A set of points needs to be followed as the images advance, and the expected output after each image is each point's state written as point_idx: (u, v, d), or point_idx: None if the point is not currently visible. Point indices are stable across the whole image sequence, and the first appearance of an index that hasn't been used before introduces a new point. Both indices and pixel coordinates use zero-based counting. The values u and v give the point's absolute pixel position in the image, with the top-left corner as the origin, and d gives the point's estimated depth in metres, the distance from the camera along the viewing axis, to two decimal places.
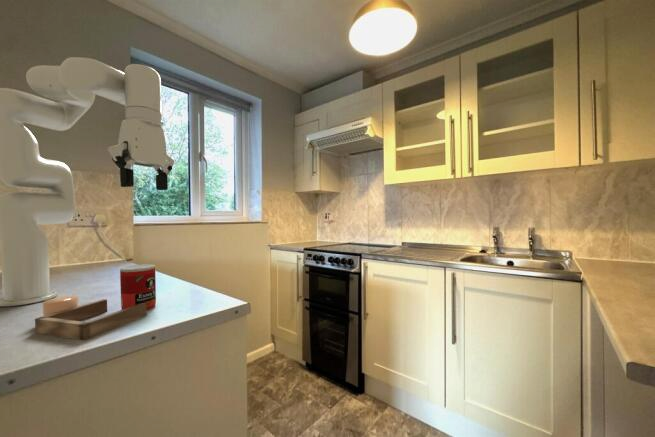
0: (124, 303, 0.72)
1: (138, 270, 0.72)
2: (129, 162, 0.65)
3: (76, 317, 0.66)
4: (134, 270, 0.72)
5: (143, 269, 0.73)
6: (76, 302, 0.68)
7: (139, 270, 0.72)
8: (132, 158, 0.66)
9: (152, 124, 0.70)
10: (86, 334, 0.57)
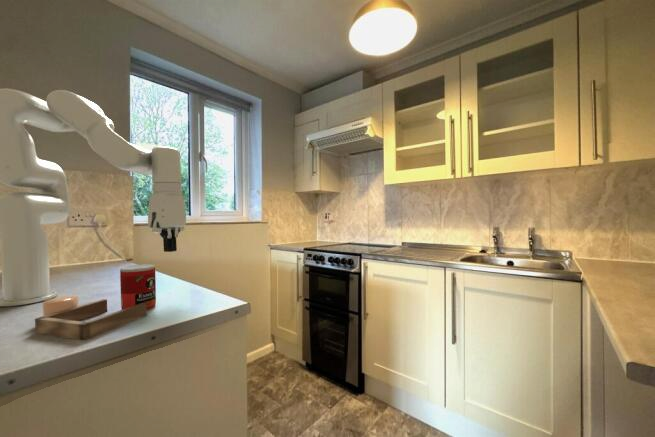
0: (124, 303, 0.72)
1: (138, 270, 0.72)
2: (168, 233, 0.83)
3: (76, 317, 0.66)
4: (134, 270, 0.72)
5: (143, 269, 0.73)
6: (76, 302, 0.68)
7: (139, 270, 0.72)
8: (168, 229, 0.82)
9: (174, 194, 0.84)
10: (86, 334, 0.57)
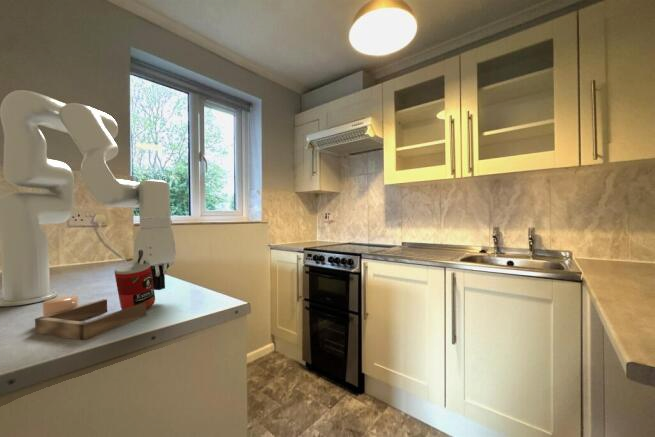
0: (123, 304, 0.71)
1: (133, 272, 0.70)
2: (156, 271, 0.78)
3: (76, 317, 0.66)
4: (129, 272, 0.70)
5: (138, 270, 0.71)
6: (76, 302, 0.68)
7: (134, 272, 0.70)
8: (155, 267, 0.78)
9: None
10: (86, 334, 0.57)
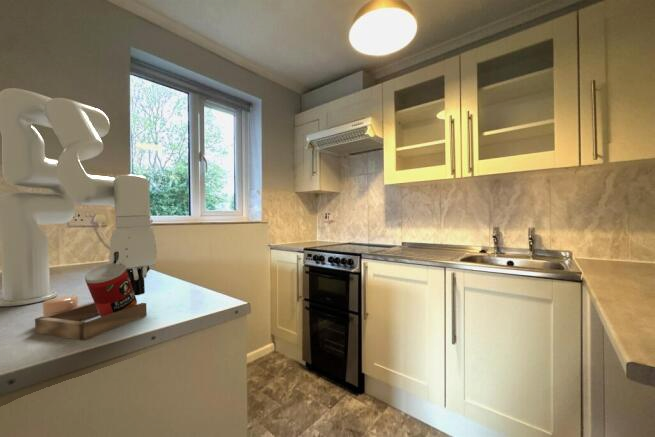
0: (101, 312, 0.66)
1: (106, 280, 0.63)
2: (134, 274, 0.72)
3: (76, 317, 0.66)
4: (101, 280, 0.63)
5: (112, 277, 0.64)
6: (76, 302, 0.68)
7: (107, 279, 0.63)
8: (133, 270, 0.71)
9: (142, 229, 0.73)
10: (86, 334, 0.57)
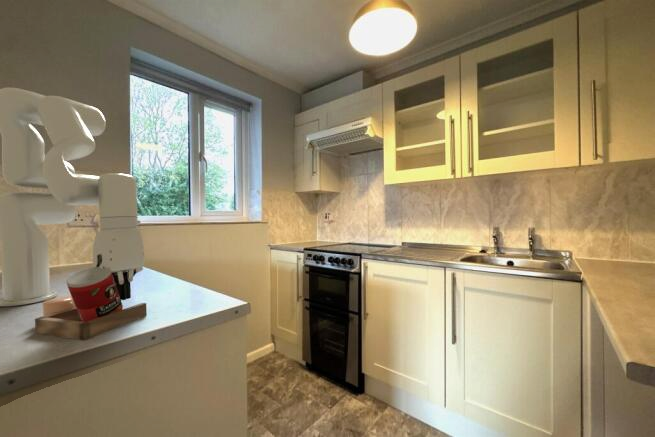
0: (84, 318, 0.62)
1: (91, 283, 0.60)
2: (119, 278, 0.68)
3: (76, 317, 0.66)
4: (86, 284, 0.59)
5: (97, 281, 0.60)
6: None
7: (92, 283, 0.60)
8: (118, 274, 0.68)
9: (128, 230, 0.69)
10: (86, 334, 0.57)
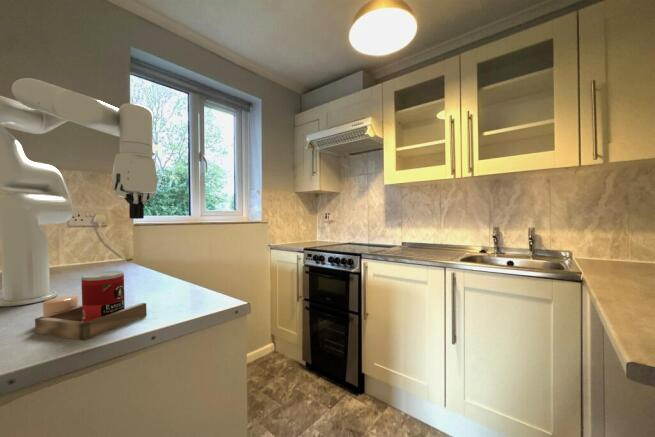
0: (87, 316, 0.63)
1: (105, 278, 0.63)
2: (134, 198, 0.76)
3: (76, 317, 0.66)
4: (100, 278, 0.63)
5: (111, 277, 0.64)
6: (76, 302, 0.68)
7: (106, 278, 0.63)
8: (133, 194, 0.76)
9: (143, 157, 0.77)
10: (86, 334, 0.57)
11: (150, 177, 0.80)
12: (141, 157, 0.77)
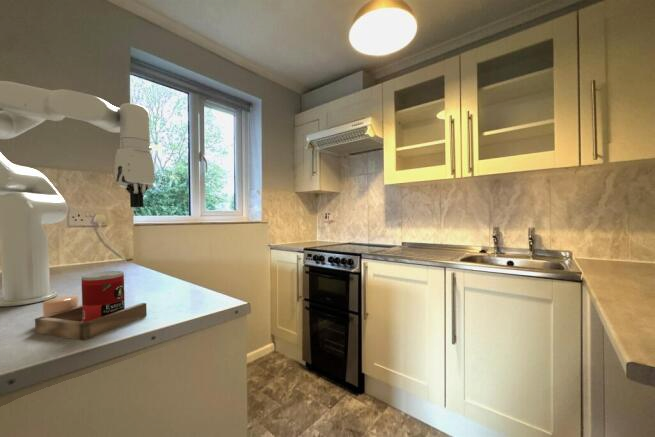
0: (87, 316, 0.63)
1: (105, 278, 0.63)
2: (134, 188, 0.85)
3: (76, 317, 0.66)
4: (100, 278, 0.63)
5: (111, 276, 0.64)
6: (76, 302, 0.68)
7: (106, 278, 0.63)
8: (134, 184, 0.84)
9: (142, 151, 0.86)
10: (86, 334, 0.57)
11: (148, 169, 0.88)
12: (140, 151, 0.85)
